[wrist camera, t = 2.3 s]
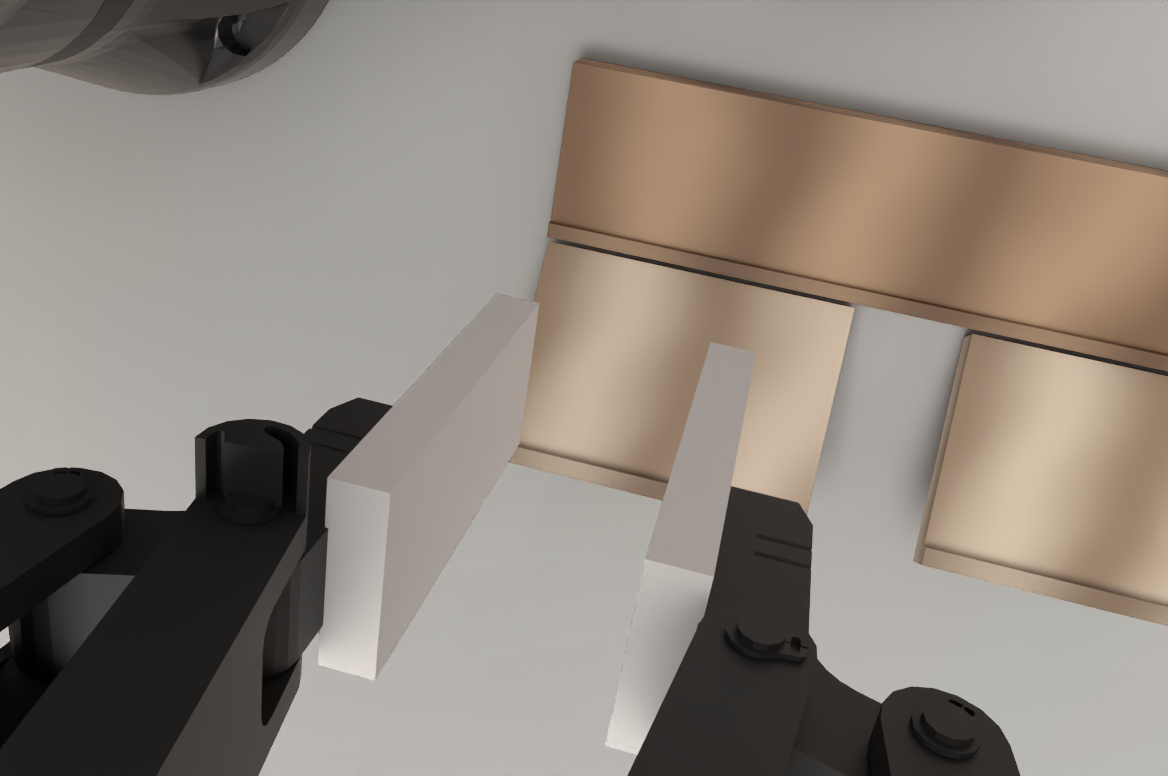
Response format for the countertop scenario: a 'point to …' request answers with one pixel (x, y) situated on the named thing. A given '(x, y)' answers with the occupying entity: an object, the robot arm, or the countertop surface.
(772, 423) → the plank
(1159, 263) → the laid board
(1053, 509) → the plank
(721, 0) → the countertop surface
